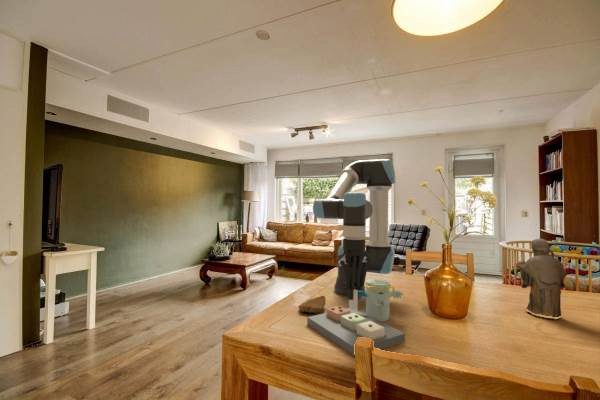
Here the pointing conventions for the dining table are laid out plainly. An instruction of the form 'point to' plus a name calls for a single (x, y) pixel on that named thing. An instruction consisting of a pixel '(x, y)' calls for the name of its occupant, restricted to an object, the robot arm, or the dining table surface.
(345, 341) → the button board
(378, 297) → the character sculpture
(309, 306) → the artifact
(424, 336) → the dining table surface
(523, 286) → the sculpture
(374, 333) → the tile one
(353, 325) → the tile two
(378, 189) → the robot arm
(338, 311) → the tile three
